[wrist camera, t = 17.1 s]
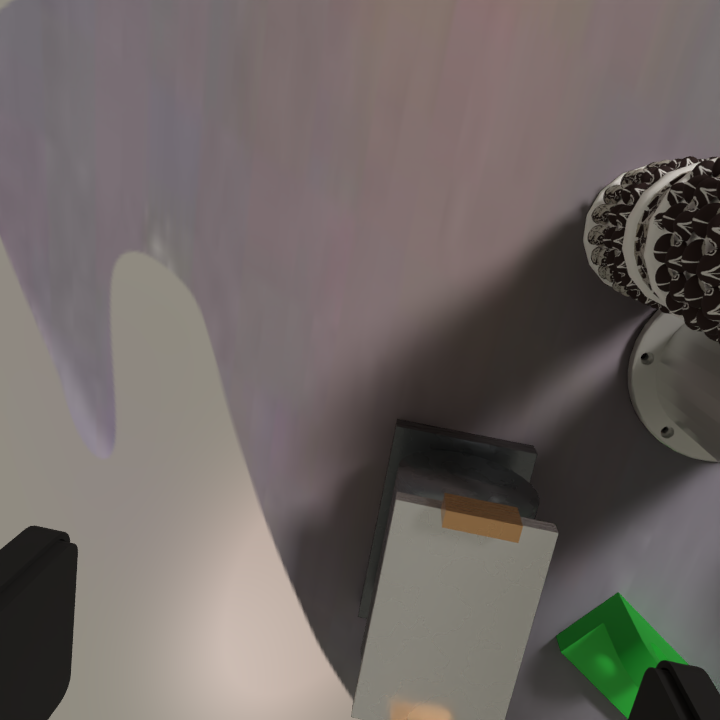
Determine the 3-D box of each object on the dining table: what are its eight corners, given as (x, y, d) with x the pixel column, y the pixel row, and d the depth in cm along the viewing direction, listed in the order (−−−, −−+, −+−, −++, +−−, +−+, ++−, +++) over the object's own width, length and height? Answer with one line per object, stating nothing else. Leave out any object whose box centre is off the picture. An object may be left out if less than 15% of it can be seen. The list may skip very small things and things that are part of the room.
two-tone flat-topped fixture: (535, 439, 44) (581, 538, 31) (482, 636, 49) (504, 794, 36) (398, 412, 45) (388, 498, 32) (359, 609, 49) (336, 755, 36)
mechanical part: (555, 634, 48) (580, 716, 41) (617, 590, 47) (655, 667, 39) (653, 732, 50) (695, 829, 42) (716, 693, 48) (772, 786, 41)
